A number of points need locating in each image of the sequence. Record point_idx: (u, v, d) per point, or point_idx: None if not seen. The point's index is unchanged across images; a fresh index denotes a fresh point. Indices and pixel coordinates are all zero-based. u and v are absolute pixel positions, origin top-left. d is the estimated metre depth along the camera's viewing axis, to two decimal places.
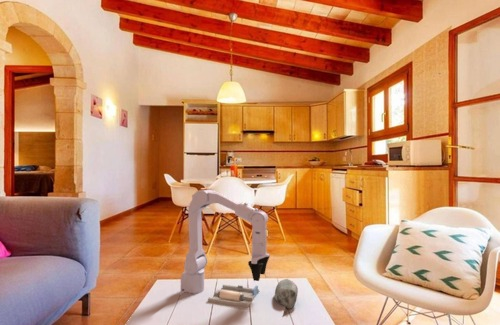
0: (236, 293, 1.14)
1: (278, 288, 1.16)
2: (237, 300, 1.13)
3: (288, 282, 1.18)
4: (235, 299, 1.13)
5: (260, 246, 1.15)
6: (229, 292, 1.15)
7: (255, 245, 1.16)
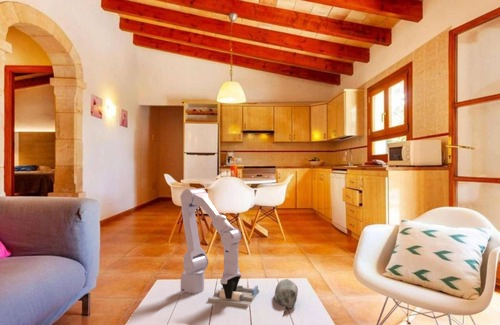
0: (236, 293, 1.15)
1: (278, 288, 1.16)
2: (237, 300, 1.13)
3: (288, 282, 1.18)
4: (235, 299, 1.13)
5: (231, 265, 1.13)
6: None
7: (226, 264, 1.14)
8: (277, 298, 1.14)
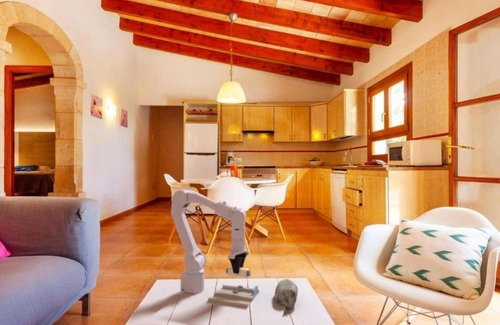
0: (243, 269, 1.22)
1: (278, 288, 1.16)
2: (244, 275, 1.21)
3: (288, 282, 1.18)
4: (243, 274, 1.21)
5: (238, 242, 1.21)
6: None
7: (234, 241, 1.21)
8: (277, 298, 1.14)
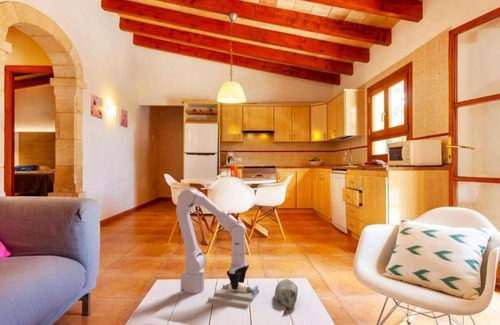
0: (243, 285, 1.22)
1: (278, 288, 1.16)
2: (244, 292, 1.21)
3: (288, 282, 1.18)
4: (243, 291, 1.21)
5: (238, 256, 1.21)
6: None
7: (234, 255, 1.22)
8: (277, 298, 1.14)
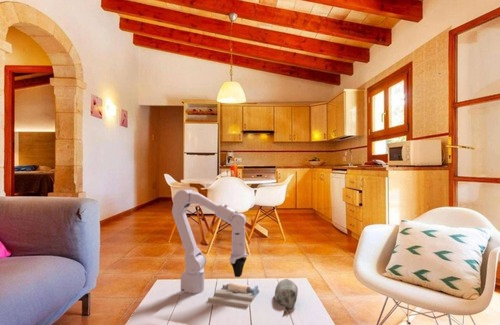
0: (243, 285, 1.22)
1: (278, 288, 1.16)
2: (244, 292, 1.21)
3: (288, 282, 1.18)
4: (243, 291, 1.21)
5: (238, 246, 1.21)
6: (237, 284, 1.23)
7: (234, 245, 1.22)
8: (277, 298, 1.14)
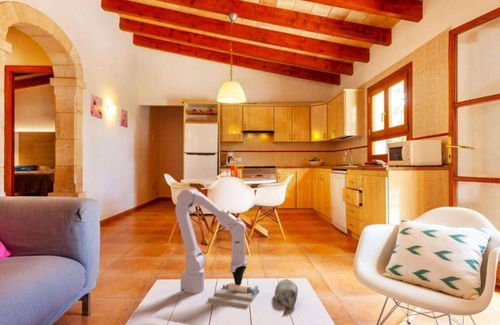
0: (244, 285, 1.22)
1: (278, 288, 1.16)
2: (245, 292, 1.21)
3: (288, 282, 1.18)
4: (243, 291, 1.21)
5: (238, 255, 1.21)
6: None
7: (234, 254, 1.22)
8: (277, 298, 1.14)
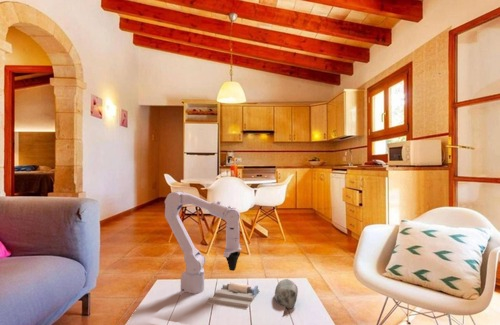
0: (244, 285, 1.23)
1: (278, 288, 1.16)
2: (245, 291, 1.21)
3: (288, 282, 1.18)
4: (243, 290, 1.21)
5: (233, 241, 1.23)
6: (238, 284, 1.23)
7: (228, 240, 1.24)
8: (277, 298, 1.14)
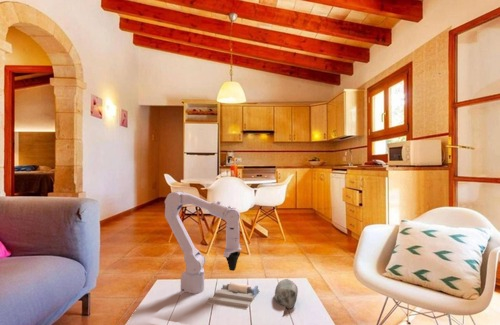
0: (244, 285, 1.22)
1: (278, 288, 1.16)
2: (245, 291, 1.21)
3: (288, 282, 1.18)
4: (243, 291, 1.21)
5: (233, 241, 1.23)
6: (237, 284, 1.23)
7: (228, 240, 1.24)
8: (277, 298, 1.14)
